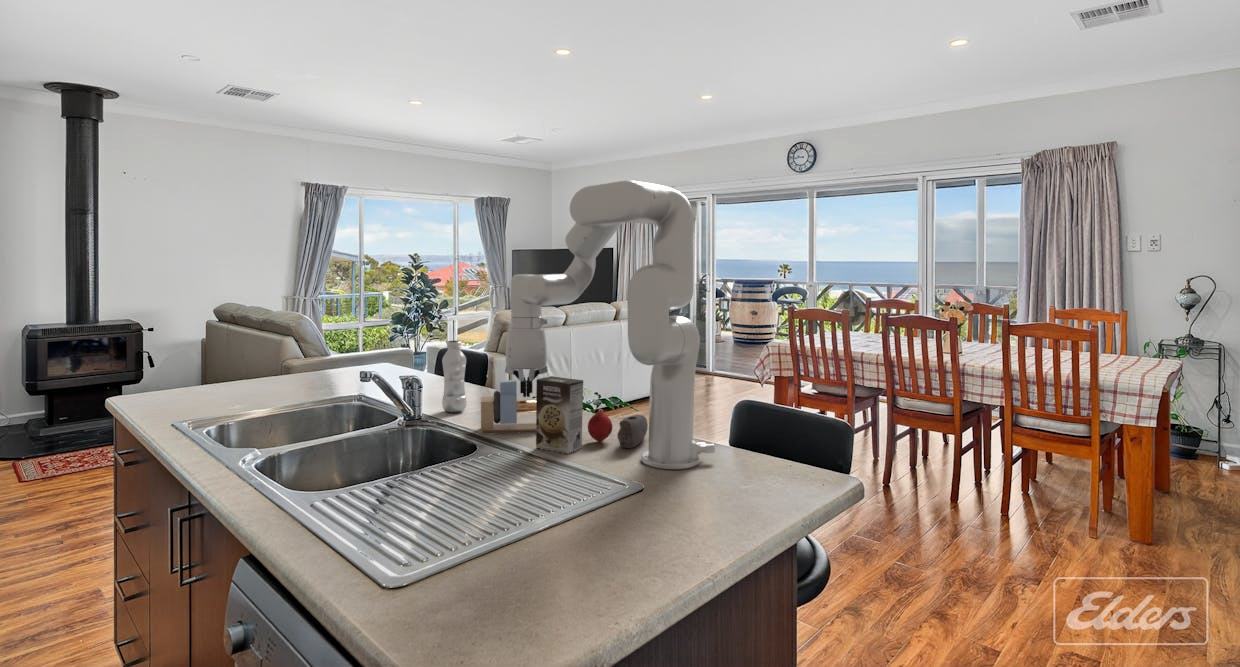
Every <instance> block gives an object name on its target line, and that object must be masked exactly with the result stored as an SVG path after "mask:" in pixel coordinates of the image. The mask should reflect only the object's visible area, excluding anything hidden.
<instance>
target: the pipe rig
mask: <svg viewBox="0 0 1240 667" xmlns="http://www.w3.org/2000/svg"><path fill="white" fill-rule="evenodd" d="M518 413H536V399H533V400H531V399H530V400H529V399H527V400H524V399H522V400H517V414H518ZM518 432H520V433H521V432H528V433H536V422H535V423H532V422H531V423H517V424H500V423H498V424H496V423H495V422H494V396H485V397H484V396H482V397H481V400H480V434H481V433H494V434H519V433H518ZM521 434H522V433H521Z"/></svg>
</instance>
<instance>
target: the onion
mask: <svg viewBox="0 0 1240 667" xmlns="http://www.w3.org/2000/svg"><path fill="white" fill-rule="evenodd" d="M612 431H613V422H612V420H611V419H610V418H609V416H608V415H607V414H606V413H604V409H602V408H600V409H598V410H597V412H596V413H595V414H593V415H592V417H591V418H590V419H589V420H588V424H587V432H588V434H589V435H590V437H591V438H592V439H593V440H595V441H597V443H603V441H604V440H606V439H607V438H608V437H609V436H610V435H611V433H612Z"/></svg>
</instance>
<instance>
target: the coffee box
mask: <svg viewBox="0 0 1240 667" xmlns="http://www.w3.org/2000/svg"><path fill="white" fill-rule="evenodd" d="M535 381H536V388H535V389H536V399H535V400H536V412H535V418H536V419H535V423H536V432H535V448H536V449H537V448H540V450H543V449H545V450H544V451H548V450H551V451H550V452H554V451H556V452H555V453H559V452H561V453H560V454H565V453H567V454H566V455H570V454H572V453H573V451H574V452H576V451H578V449H579V450H581V449H583V410H584V409H583V406H584V404H583V403H584V402H583V401H584V400H583V398H584V379H574V378H567V377H561V376H560V377H558V376H552V375H551V376H547V377H546V376H544V377H541V378H537V379H536V380H535ZM580 448H581V449H580ZM571 452H572V453H571ZM569 453H570V454H569Z"/></svg>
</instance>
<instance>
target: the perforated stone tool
mask: <svg viewBox="0 0 1240 667" xmlns="http://www.w3.org/2000/svg"><path fill="white" fill-rule="evenodd" d="M648 429H649V423H648V420H647V418H646V417H645V415H642V414H635V415H630V416H627V417H625V418H623V419H622V420H620V421H619V430H618V433H617V439H618V442H619V445H620V447H623V448H626V449H633V448H636V447H638V446H639V445H640V444H641V443H642V442H643V440H644V438H645V437H646V435H647V431H648Z"/></svg>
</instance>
